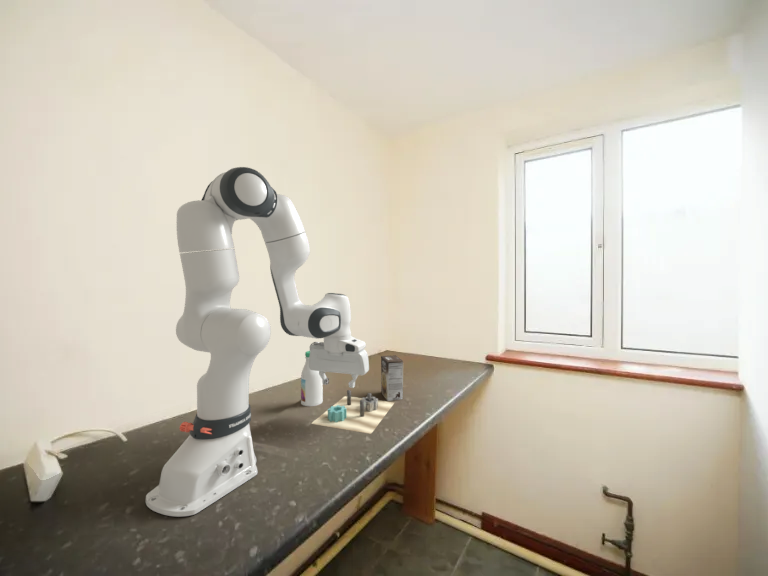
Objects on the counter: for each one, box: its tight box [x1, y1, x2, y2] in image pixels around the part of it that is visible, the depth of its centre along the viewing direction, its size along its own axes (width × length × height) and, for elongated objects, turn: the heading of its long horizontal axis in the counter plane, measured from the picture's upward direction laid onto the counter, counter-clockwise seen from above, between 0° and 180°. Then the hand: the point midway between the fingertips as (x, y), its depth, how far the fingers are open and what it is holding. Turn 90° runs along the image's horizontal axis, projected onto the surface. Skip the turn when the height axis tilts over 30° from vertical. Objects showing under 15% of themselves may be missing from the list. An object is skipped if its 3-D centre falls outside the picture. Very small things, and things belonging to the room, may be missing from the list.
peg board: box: [310, 389, 395, 435], centre depth 101 cm, size 24×20×6 cm
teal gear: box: [327, 405, 347, 422], centre depth 97 cm, size 6×6×3 cm
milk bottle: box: [300, 350, 324, 407], centre depth 110 cm, size 8×8×20 cm
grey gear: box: [361, 396, 379, 412], centre depth 104 cm, size 6×6×3 cm
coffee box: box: [380, 355, 404, 402], centre depth 116 cm, size 9×6×16 cm
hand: (338, 385), depth 97 cm, fingers open, 8 cm apart
